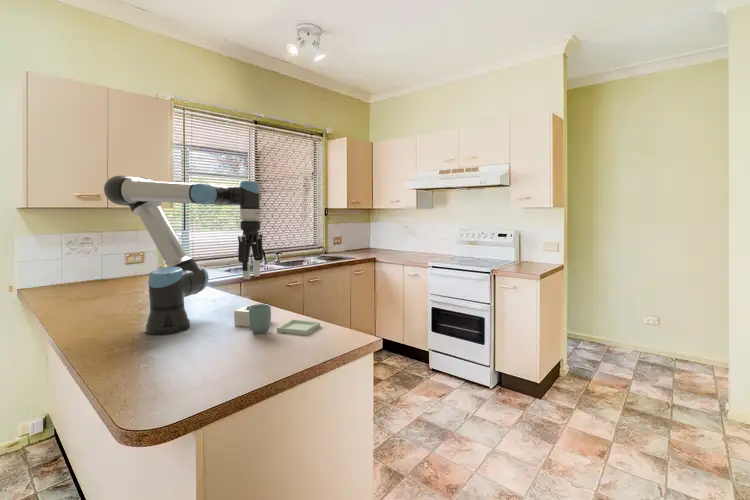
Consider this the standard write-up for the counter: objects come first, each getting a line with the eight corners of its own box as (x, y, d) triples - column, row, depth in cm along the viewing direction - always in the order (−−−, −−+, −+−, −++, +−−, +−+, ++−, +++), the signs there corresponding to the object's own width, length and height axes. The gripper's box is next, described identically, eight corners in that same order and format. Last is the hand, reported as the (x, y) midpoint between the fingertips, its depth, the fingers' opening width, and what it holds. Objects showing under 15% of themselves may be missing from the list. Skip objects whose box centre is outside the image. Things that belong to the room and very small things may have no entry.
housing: (234, 325, 157) (234, 310, 156) (249, 318, 166) (248, 305, 166) (256, 327, 154) (256, 312, 153) (270, 320, 163) (269, 306, 163)
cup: (265, 336, 143) (264, 309, 142) (245, 334, 145) (245, 308, 144) (274, 330, 151) (274, 304, 150) (256, 328, 152) (255, 303, 151)
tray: (277, 332, 148) (276, 327, 148) (292, 323, 160) (292, 319, 159) (306, 335, 145) (306, 330, 144) (320, 326, 156) (320, 321, 156)
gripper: (243, 220, 146) (245, 281, 148) (271, 219, 164) (272, 274, 166) (226, 220, 148) (228, 280, 150) (255, 219, 166) (257, 273, 169)
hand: (251, 277), depth 158 cm, fingers open, 6 cm apart
